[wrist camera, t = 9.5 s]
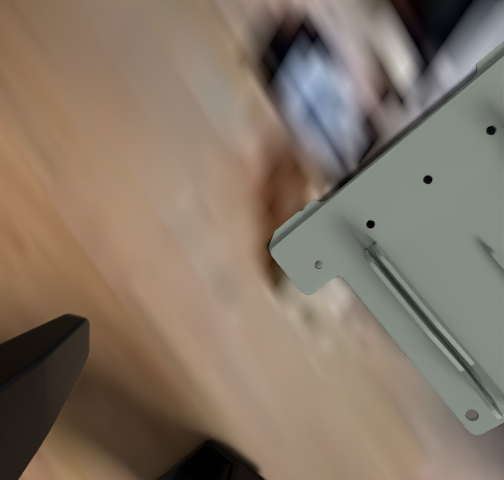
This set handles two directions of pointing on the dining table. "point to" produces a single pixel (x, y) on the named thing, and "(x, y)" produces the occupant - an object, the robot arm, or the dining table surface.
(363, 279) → the metal bracket
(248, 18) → the dining table surface
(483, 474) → the dining table surface
